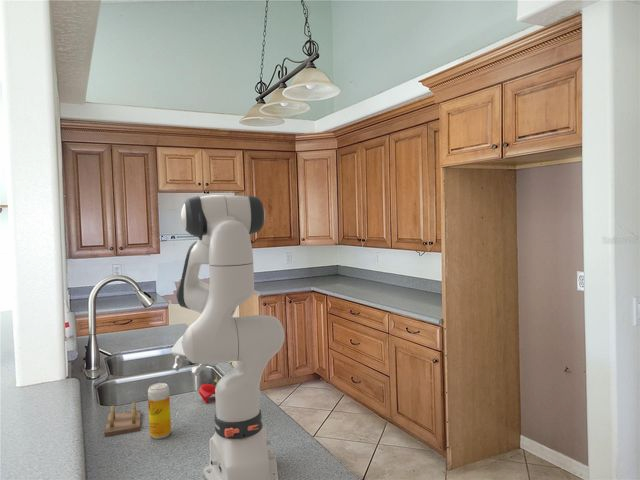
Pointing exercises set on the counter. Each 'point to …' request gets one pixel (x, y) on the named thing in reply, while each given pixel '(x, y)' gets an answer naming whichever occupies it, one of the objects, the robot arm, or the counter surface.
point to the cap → (207, 391)
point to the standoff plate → (123, 421)
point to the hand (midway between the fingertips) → (184, 372)
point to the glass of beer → (159, 410)
